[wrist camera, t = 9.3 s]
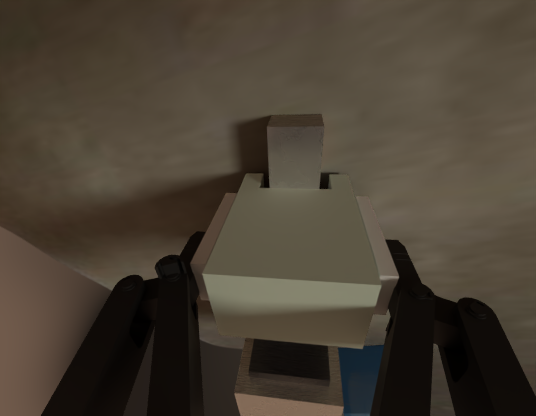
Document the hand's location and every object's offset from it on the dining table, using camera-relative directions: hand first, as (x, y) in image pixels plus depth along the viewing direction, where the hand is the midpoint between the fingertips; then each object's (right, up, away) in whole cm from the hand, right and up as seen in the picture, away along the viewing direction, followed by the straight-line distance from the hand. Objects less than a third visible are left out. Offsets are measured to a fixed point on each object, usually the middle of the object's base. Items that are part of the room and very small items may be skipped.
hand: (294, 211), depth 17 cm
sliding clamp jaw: (0, +1, +1) cm, 1 cm away
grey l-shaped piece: (0, -3, +4) cm, 5 cm away
